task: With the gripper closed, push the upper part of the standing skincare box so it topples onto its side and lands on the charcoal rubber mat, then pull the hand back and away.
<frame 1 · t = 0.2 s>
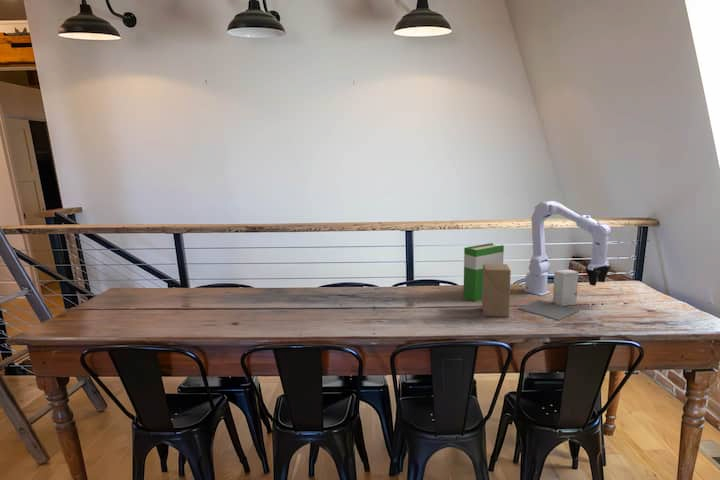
hand: (596, 283, 186), 10 cm above the table, tool pointing down, fingers open, 7 cm apart
wooden block: (495, 312, 183), on the table
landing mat: (548, 310, 184), on the table
hardback book: (482, 296, 205), on the table
skincare box: (564, 303, 192), on the table
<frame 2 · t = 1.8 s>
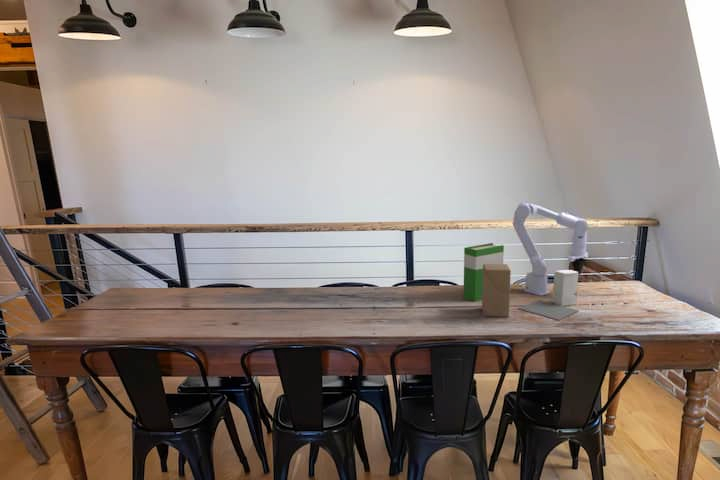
hand: (577, 274, 200), 10 cm above the table, tool pointing down, fingers closed
nothing on the table moved.
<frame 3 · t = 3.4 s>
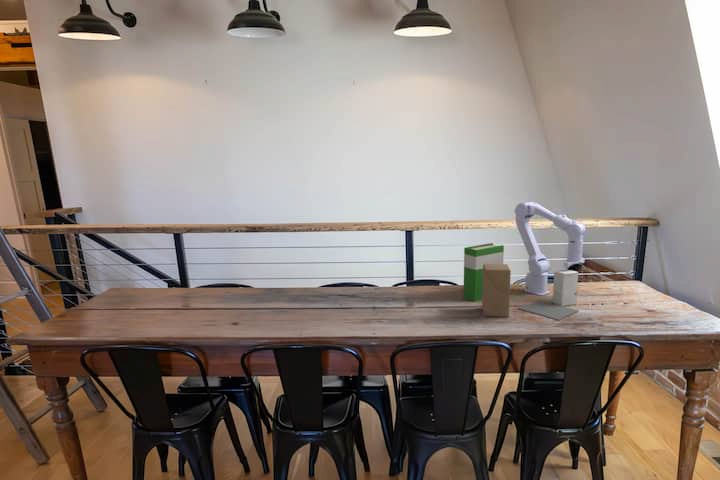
hand: (573, 280, 194), 10 cm above the table, tool pointing down, fingers closed
skincare box: (564, 303, 192), on the table, touching gripper
everything else where it was.
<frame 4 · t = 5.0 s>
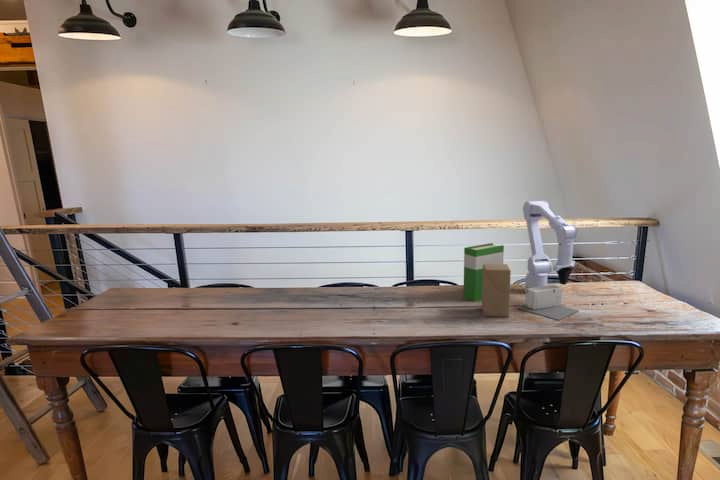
hand: (563, 283, 189), 9 cm above the table, tool pointing down, fingers closed
skincare box: (557, 294, 190), point 5 cm above the table, touching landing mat
everything else where it was.
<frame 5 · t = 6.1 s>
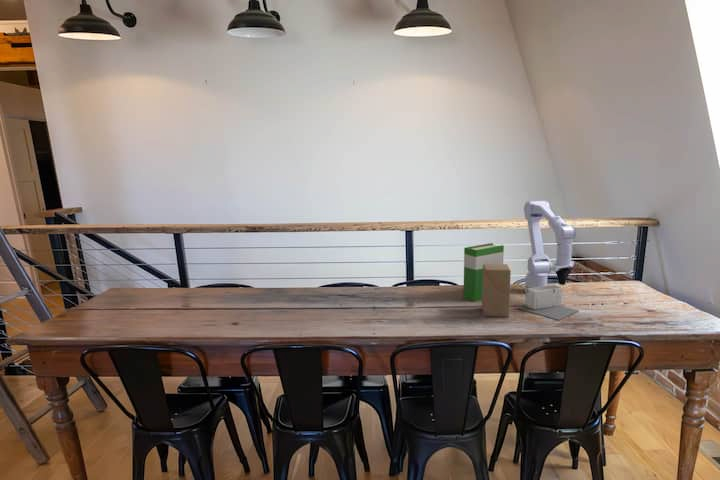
hand: (562, 284, 188), 9 cm above the table, tool pointing down, fingers closed
nothing on the table moved.
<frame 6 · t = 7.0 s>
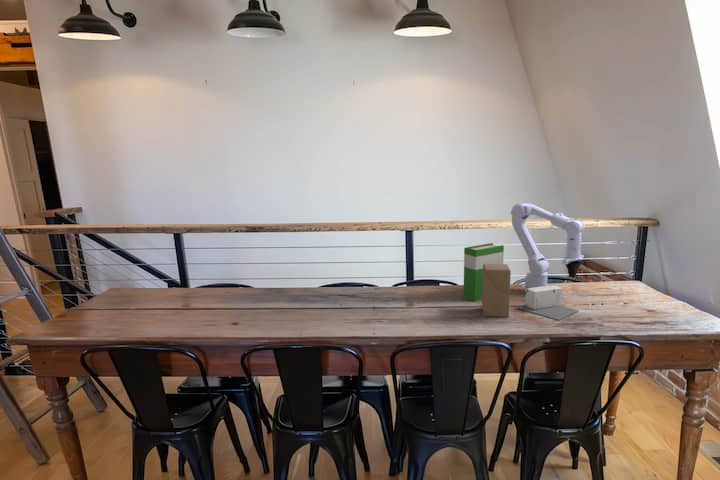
hand: (572, 277, 195), 10 cm above the table, tool pointing down, fingers closed
nothing on the table moved.
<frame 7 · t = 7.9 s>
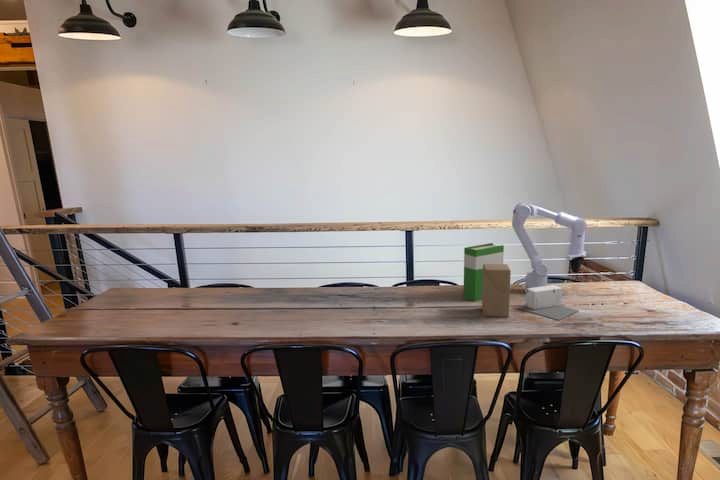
hand: (575, 272, 202), 10 cm above the table, tool pointing down, fingers closed
nothing on the table moved.
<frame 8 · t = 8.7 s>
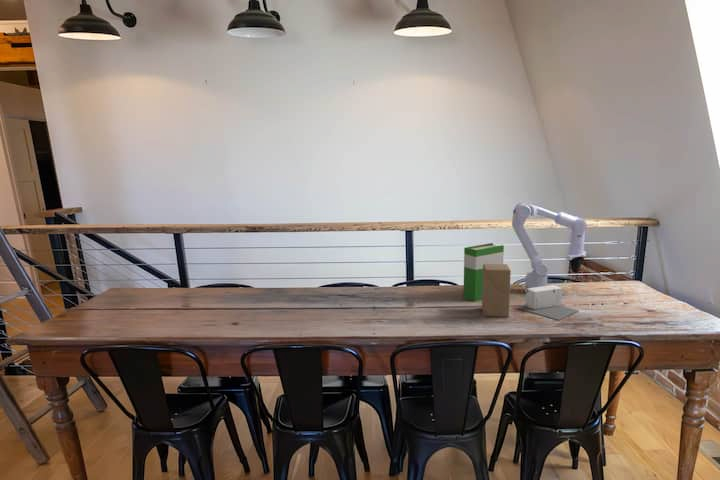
hand: (575, 272, 202), 10 cm above the table, tool pointing down, fingers closed
nothing on the table moved.
at the end: skincare box tilted 91°; skincare box inside the target area (3.9 cm from its centre), point 4.6 cm above the table; skincare box touching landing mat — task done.
